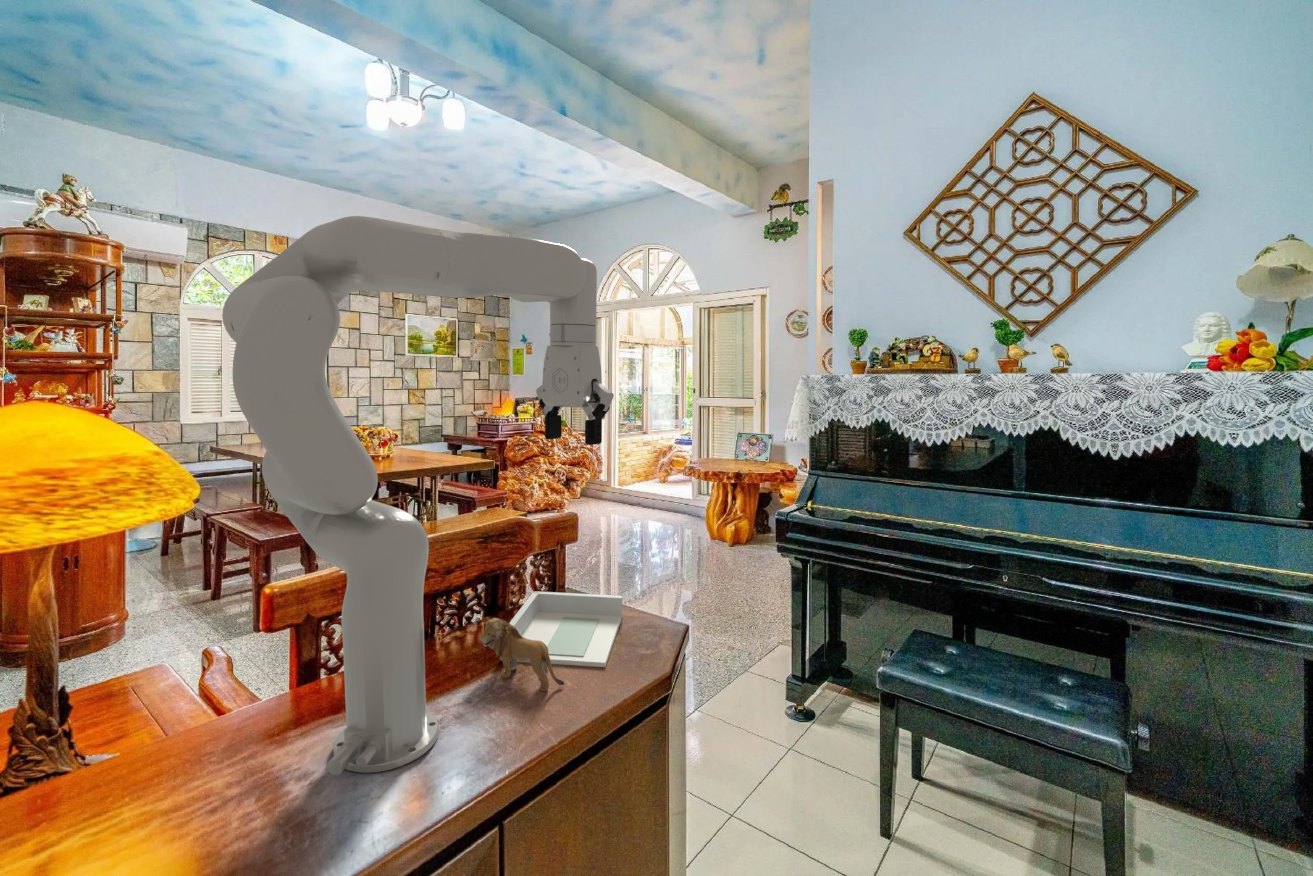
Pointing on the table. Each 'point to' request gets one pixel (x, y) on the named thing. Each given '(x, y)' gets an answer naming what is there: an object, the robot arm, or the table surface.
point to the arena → (571, 625)
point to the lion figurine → (517, 650)
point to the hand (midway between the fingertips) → (572, 441)
